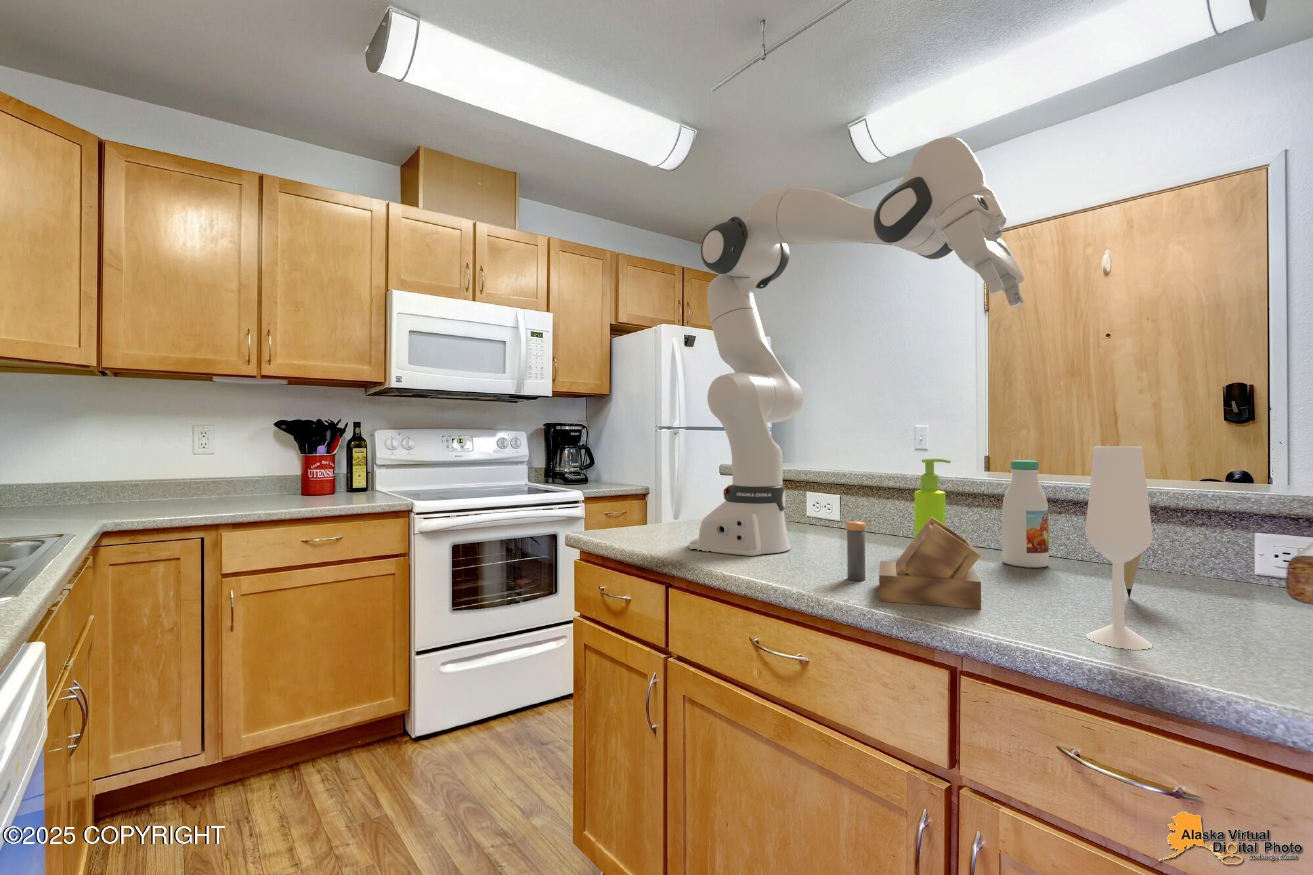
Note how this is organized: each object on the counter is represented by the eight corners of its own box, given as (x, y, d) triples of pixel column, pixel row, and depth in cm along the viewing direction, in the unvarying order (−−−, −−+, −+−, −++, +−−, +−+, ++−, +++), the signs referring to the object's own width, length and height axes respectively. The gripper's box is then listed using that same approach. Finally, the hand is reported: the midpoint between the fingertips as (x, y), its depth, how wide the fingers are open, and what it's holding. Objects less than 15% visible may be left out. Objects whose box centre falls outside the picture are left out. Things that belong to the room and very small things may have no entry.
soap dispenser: (954, 557, 127) (953, 459, 126) (918, 556, 128) (917, 459, 128) (946, 552, 132) (946, 458, 132) (912, 551, 134) (911, 458, 133)
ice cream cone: (1097, 595, 97) (1097, 499, 97) (1121, 591, 99) (1121, 497, 99) (1136, 604, 92) (1136, 503, 92) (1161, 600, 94) (1161, 501, 94)
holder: (879, 601, 96) (878, 523, 96) (880, 584, 106) (879, 513, 106) (982, 609, 91) (981, 527, 91) (972, 590, 101) (972, 517, 101)
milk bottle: (1009, 567, 117) (1008, 461, 117) (997, 559, 125) (996, 459, 124) (1055, 569, 115) (1055, 461, 115) (1040, 560, 123) (1039, 459, 122)
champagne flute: (1093, 628, 82) (1093, 445, 81) (1158, 640, 77) (1158, 446, 76) (1078, 640, 77) (1077, 447, 77) (1146, 654, 72) (1145, 447, 72)
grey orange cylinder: (846, 580, 109) (846, 523, 109) (847, 576, 112) (847, 520, 112) (865, 581, 108) (864, 524, 108) (865, 577, 111) (865, 521, 111)
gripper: (976, 253, 109) (1008, 321, 105) (929, 218, 95) (964, 295, 90) (1013, 231, 105) (1048, 301, 101) (970, 191, 91) (1009, 271, 86)
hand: (1008, 298), depth 95 cm, fingers open, 8 cm apart
